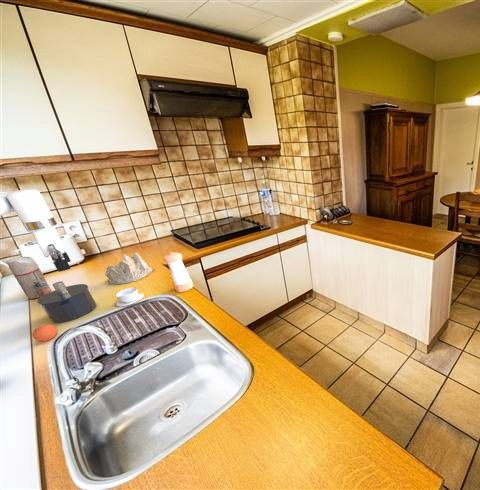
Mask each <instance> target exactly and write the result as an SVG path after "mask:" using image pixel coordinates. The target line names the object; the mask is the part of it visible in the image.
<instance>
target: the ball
mask: <svg viewBox="0 0 480 490" xmlns="http://www.w3.org/2000/svg"><path fill="white" fill-rule="evenodd" d="M58 332H59V330H58V328H57V326H56V325H54V324H47V323H46V324H41V325H39V326H37V327H36V328H35V329H34V330H33V331H32V333H31V336H32V338H33V340H35V341H37V342H47V341H50V340H52V339H54V338H55V337H56V336H57V335H58Z"/></svg>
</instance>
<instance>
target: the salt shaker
mask: <svg viewBox="0 0 480 490" xmlns="http://www.w3.org/2000/svg"><path fill="white" fill-rule="evenodd" d="M163 261H164V262H165V263H167V266H168V268H169V271H170V275H171V279H172V281H173V287H174V289H175V291H176V293H177V292H178V293H182V292H183V293H184V292H187V291H189V290H191V289H192V288H193V287H194V282H193V279H192V278H191V277H190V275H189V272H188V270H187V269H186V267H185V265H184V262H183V255H182V253H181V252H177V251H175V252H173V251H171V252H169V253H168V254H166V255H165V256H164V258H163Z"/></svg>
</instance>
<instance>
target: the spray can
mask: <svg viewBox="0 0 480 490" xmlns="http://www.w3.org/2000/svg"><path fill="white" fill-rule="evenodd" d="M6 264H7V266H8V268H9V270H10V271H11V273H12V275H13V277H14V278H15V279H16V281H17V283H18V285H19V286H20V288H21V289H22V291H23V292H24V294H25V296H26V297H27V299H28V300H34V299H38V298H40V296H39V295H38V293H37V292H36V290H35V289H34V288H33V287H32V286H33V285H35V284H34V283H33V281H37V280H40V281H42V282H44V284H47V285H48V286H49V289H50V290H51V292H53V290H52V288H51V286H50V284H49V282H48V281H47V279H46V278H45V276H44V274H43V272H42V271H41V269H40V267H39V264H38V263H37V262H36V261H35V260H34V259H33V257H31V256H20V257H17V258H11V259H7V260H6Z"/></svg>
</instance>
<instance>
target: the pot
mask: <svg viewBox="0 0 480 490" xmlns="http://www.w3.org/2000/svg"><path fill="white" fill-rule="evenodd" d="M40 306H41V307H42V309H43V310H44V311H45V313H46V315H47V316H48V318H49V319H50V321H51V322H53V323H54V324H64V323H68V322H72V321H75V320H77V319H80V318H82V317H85V316H86V315H88V314H90V313H92V312H93V311H94V310H96V308H97V306H98V305H97V302H96V301H95V298H94V297H93V296H92V294H91V292H90V290H89V288H88V289H87V290H86V291H84V292H83V293H81V294H79V295H77V296H75V297H73V298H70V299H68V300H65V301H62V302H58V303H54V304H48V305H40Z"/></svg>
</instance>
